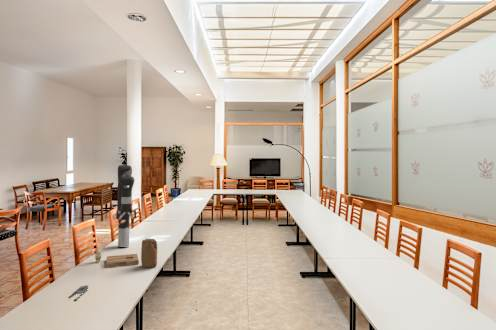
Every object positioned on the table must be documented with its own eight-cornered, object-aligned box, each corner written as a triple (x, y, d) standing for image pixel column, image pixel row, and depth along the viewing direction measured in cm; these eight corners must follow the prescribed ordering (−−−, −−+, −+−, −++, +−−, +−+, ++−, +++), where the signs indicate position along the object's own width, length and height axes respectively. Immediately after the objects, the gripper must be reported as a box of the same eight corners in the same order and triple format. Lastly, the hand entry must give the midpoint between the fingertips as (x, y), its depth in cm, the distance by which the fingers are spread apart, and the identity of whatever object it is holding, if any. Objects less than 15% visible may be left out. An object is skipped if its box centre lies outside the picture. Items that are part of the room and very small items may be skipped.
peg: (95, 261, 241) (95, 248, 240) (100, 261, 242) (101, 248, 242) (95, 263, 237) (95, 249, 237) (100, 262, 239) (101, 249, 238)
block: (140, 267, 230) (140, 240, 229) (144, 264, 237) (144, 237, 237) (154, 268, 229) (155, 240, 229) (158, 265, 237) (158, 238, 236)
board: (106, 260, 245) (106, 256, 245) (136, 257, 253) (137, 253, 253) (106, 267, 228) (106, 263, 228) (138, 264, 237) (138, 260, 237)
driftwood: (82, 286, 195) (82, 283, 195) (93, 287, 196) (93, 283, 196) (64, 302, 175) (64, 298, 175) (76, 302, 175) (76, 298, 175)
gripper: (136, 201, 246) (135, 222, 247) (116, 202, 241) (115, 223, 241) (136, 203, 239) (136, 224, 240) (116, 203, 234) (116, 225, 234)
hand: (126, 224), depth 240 cm, fingers open, 8 cm apart
